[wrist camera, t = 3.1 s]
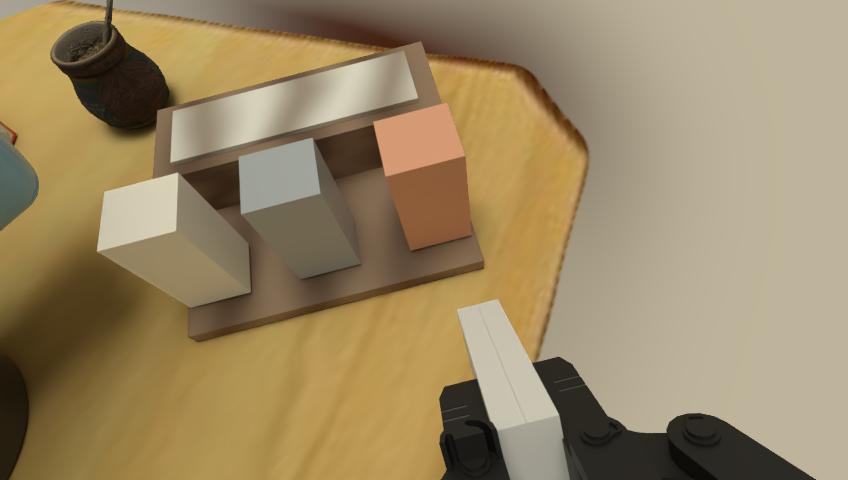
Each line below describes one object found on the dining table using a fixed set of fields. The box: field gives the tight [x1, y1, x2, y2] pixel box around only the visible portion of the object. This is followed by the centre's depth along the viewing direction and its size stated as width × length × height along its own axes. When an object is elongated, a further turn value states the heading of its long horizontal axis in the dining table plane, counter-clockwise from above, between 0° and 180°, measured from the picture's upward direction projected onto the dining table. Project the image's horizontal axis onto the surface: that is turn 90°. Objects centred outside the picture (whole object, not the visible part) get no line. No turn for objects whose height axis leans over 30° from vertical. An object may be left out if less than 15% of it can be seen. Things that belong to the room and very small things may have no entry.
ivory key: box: [97, 173, 251, 308], centre depth 30 cm, size 4×4×9 cm
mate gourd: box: [51, 0, 169, 129], centre depth 41 cm, size 7×8×10 cm
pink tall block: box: [373, 103, 471, 251], centre depth 30 cm, size 4×4×9 cm
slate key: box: [239, 138, 361, 279], centre depth 30 cm, size 4×4×9 cm
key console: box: [153, 42, 484, 342], centre depth 35 cm, size 21×17×6 cm
